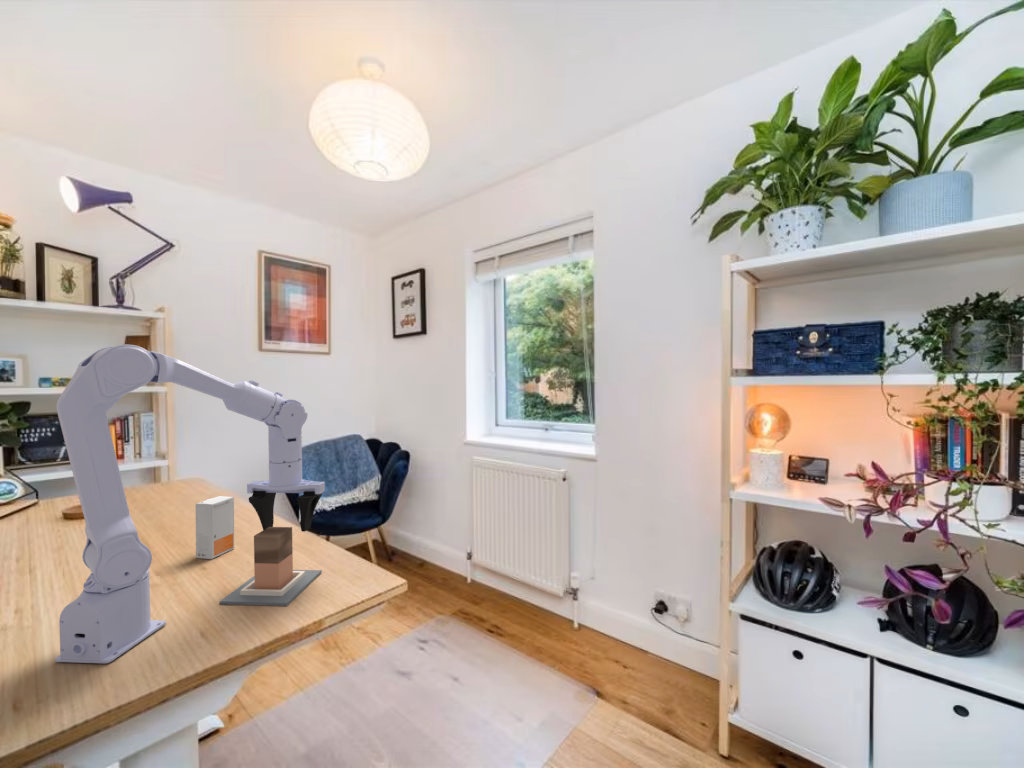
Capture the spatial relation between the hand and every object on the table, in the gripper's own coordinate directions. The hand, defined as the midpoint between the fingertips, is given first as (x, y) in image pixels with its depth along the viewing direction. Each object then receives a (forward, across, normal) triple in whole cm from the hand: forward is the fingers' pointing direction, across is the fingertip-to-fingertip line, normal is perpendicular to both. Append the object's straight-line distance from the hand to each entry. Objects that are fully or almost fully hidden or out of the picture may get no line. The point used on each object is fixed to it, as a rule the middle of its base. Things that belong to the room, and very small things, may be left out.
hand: (287, 529), depth 83 cm
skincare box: (+10, +22, -10) cm, 26 cm away
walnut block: (+4, 0, +4) cm, 6 cm away
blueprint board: (+9, 0, +4) cm, 10 cm away
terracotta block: (+9, 0, +4) cm, 10 cm away
